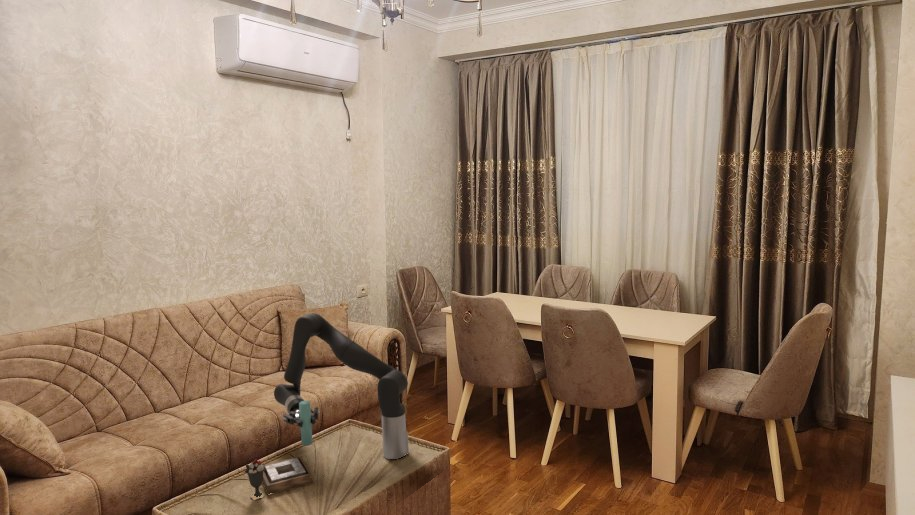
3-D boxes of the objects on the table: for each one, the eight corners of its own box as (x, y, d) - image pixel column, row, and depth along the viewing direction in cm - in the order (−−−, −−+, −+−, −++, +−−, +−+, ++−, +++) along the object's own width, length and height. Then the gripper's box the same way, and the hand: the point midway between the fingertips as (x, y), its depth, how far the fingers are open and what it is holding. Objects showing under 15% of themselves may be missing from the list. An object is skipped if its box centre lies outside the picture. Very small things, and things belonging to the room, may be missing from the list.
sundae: (271, 494, 220) (268, 454, 217) (256, 503, 214) (252, 462, 212) (259, 489, 223) (255, 450, 221) (243, 498, 218) (240, 457, 215)
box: (302, 464, 241) (301, 456, 240) (313, 483, 227) (312, 474, 226) (259, 475, 233) (258, 466, 233) (268, 495, 219) (267, 485, 219)
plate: (297, 465, 238) (297, 458, 237) (306, 479, 227) (305, 471, 227) (265, 473, 232) (264, 466, 232) (272, 488, 222) (271, 480, 221)
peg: (311, 440, 237) (308, 399, 234) (313, 444, 233) (311, 403, 231) (300, 442, 235) (297, 402, 232) (303, 446, 232) (300, 405, 229)
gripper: (277, 401, 241) (287, 417, 226) (314, 394, 248) (326, 409, 233) (278, 420, 243) (288, 437, 228) (315, 412, 249) (327, 428, 234)
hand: (307, 423), depth 230 cm, fingers closed on peg, 4 cm apart
